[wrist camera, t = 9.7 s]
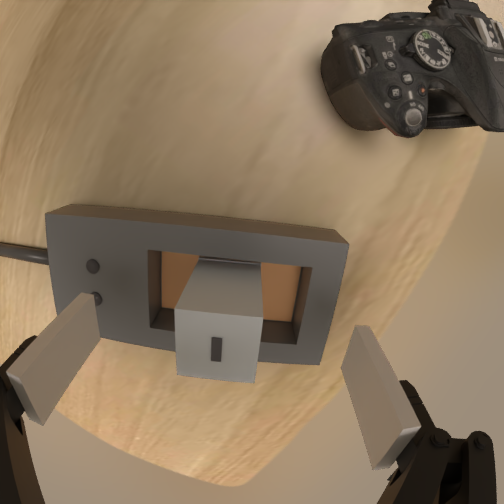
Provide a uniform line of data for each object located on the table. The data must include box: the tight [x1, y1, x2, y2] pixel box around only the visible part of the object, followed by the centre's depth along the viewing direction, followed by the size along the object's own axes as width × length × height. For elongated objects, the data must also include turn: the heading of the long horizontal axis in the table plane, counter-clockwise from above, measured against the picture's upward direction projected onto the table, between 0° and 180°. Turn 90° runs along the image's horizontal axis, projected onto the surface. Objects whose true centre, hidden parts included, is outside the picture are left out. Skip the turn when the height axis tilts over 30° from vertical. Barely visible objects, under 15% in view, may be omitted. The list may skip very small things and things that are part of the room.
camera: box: [321, 0, 504, 138], centre depth 13 cm, size 13×10×10 cm
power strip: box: [0, 204, 349, 365], centre depth 20 cm, size 33×9×4 cm, turn 84°
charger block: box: [174, 256, 263, 383], centre depth 18 cm, size 4×4×8 cm
